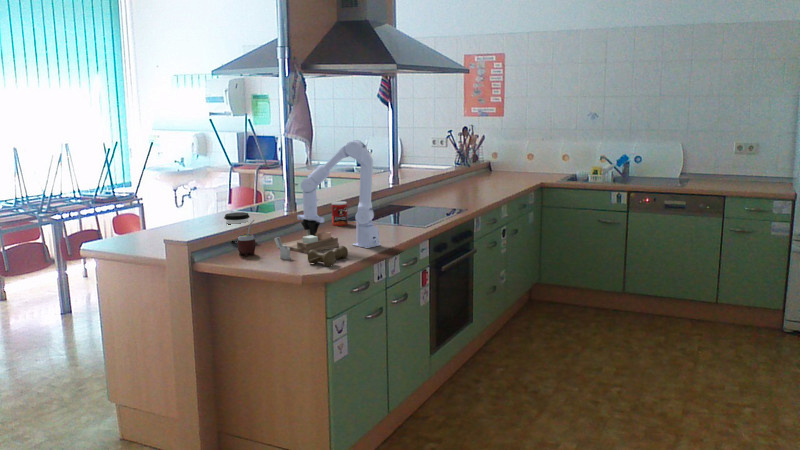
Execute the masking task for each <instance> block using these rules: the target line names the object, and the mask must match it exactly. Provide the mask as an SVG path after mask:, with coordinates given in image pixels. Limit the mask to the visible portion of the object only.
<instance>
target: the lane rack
mask: <svg viewBox="0 0 800 450" xmlns="http://www.w3.org/2000/svg"><path fill="white" fill-rule="evenodd" d="M281 243H282V242H281ZM282 245H287V248H290V251H294V252H298V253H301V254H308V253H309V251H310V250H316V251H317V252H319V250H320V251H324V249H325V250H329V249H334V248H338V247H339V246H340V244H339V238H338V237H335V236H331V239H328V240H324V241H321V240H318V242H314V243H309V244H306V243H303V241H302V239H297V240H291V241H288V242H283V243H282Z"/></svg>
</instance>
